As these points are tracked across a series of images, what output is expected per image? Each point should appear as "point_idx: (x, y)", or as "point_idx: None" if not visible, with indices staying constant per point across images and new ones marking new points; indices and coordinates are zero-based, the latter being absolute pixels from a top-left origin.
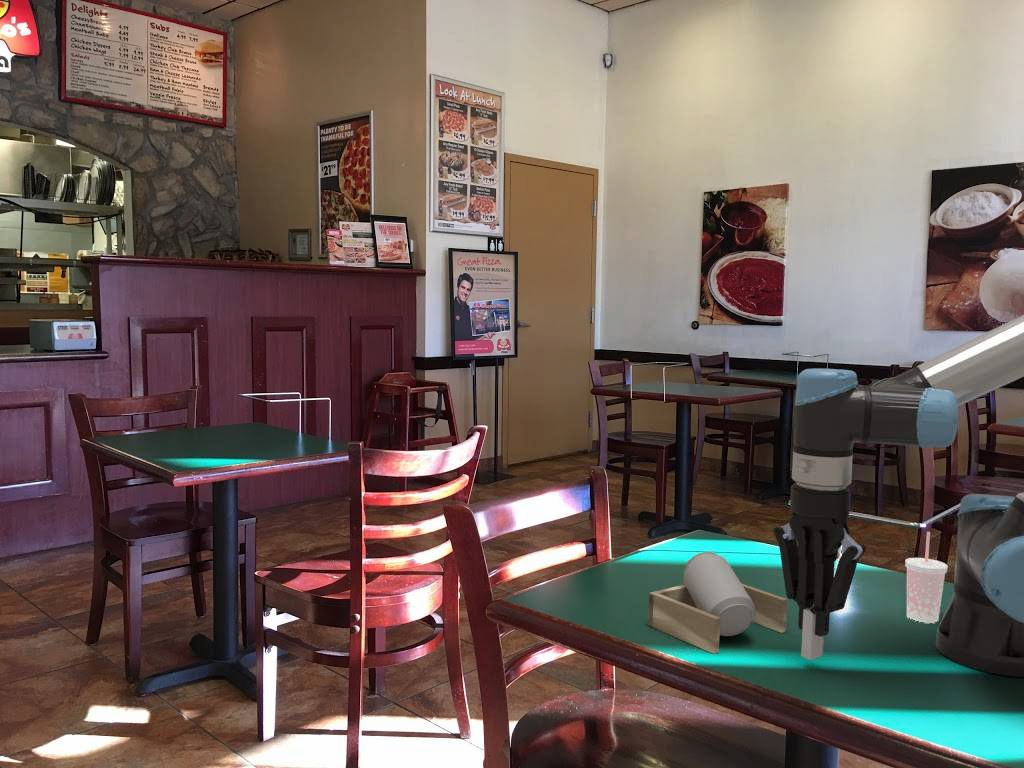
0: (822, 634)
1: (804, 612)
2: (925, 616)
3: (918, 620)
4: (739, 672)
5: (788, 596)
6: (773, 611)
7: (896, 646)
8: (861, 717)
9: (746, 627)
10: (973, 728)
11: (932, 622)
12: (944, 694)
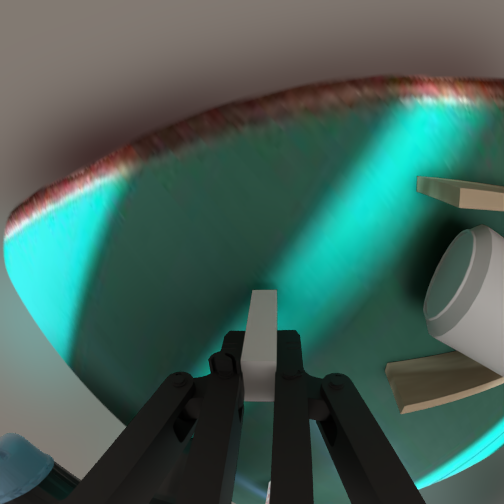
0: (226, 335)
1: (272, 355)
2: None
3: None
4: (327, 141)
5: (340, 377)
6: (414, 382)
7: (248, 434)
8: (87, 196)
9: (425, 298)
10: (43, 297)
11: (269, 482)
12: (111, 358)
